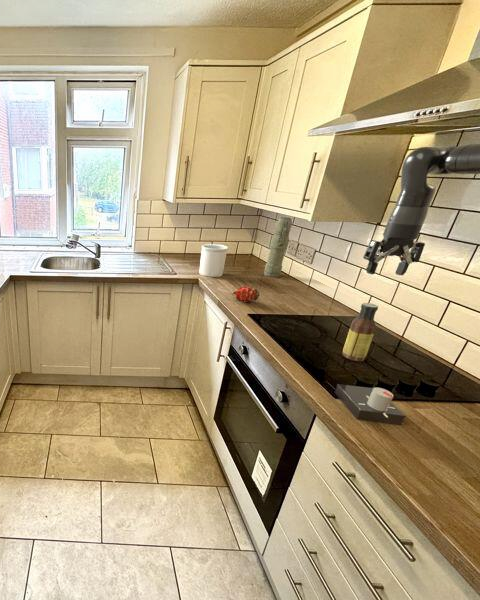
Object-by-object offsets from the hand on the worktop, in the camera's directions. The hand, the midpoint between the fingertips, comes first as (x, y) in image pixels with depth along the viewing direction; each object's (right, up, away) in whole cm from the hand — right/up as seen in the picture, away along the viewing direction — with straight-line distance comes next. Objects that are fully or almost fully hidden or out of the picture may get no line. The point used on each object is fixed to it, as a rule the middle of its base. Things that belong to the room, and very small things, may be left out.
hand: (384, 274), depth 99 cm
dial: (-18, -36, -17) cm, 44 cm away
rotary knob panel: (-17, -38, -13) cm, 43 cm away
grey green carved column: (+23, +7, +97) cm, 100 cm away
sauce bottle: (-1, -28, +11) cm, 30 cm away
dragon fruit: (-14, -9, +58) cm, 60 cm away
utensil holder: (-14, +8, +99) cm, 100 cm away
